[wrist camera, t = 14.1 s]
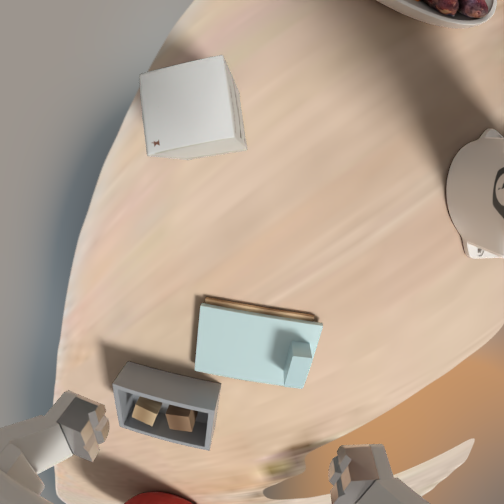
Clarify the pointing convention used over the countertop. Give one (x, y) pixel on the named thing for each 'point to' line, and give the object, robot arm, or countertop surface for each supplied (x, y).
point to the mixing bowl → (157, 499)
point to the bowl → (445, 11)
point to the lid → (255, 346)
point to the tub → (167, 403)
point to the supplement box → (192, 110)
